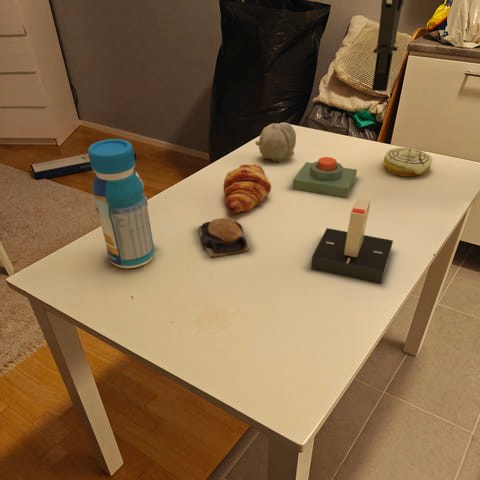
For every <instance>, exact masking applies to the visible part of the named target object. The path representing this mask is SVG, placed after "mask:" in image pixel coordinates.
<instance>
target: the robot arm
mask: <svg viewBox="0 0 480 480" xmlns="http://www.w3.org/2000/svg"><path fill="white" fill-rule="evenodd" d="M404 3H405V0H381V3H380V4H381V6H380V18H379V27H378V33H377V34H378V36H377V42H376V43H377V44H376V46H375V47H376V48H374V49H373V54H376V59H375V66H374V72H373V73H374V74H373V80H372V87H371V91H375V92H387V90H388V85H389V78H390V73H391V67H392V60H393V55H394V52H398V46H395V45H396V43H397V36H398V35H397V34H398V30H399V29H398V28H399V23H400V18H401V12H402V7H404Z"/></svg>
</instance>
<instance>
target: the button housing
mask: <svg viewBox="0 0 480 480" xmlns="http://www.w3.org/2000/svg"><path fill="white" fill-rule="evenodd" d="M317 166H318V160H317V161H314V162H308V161H305V163H304V164H303V165H302V167H301V168H300V170H298V173H296V175H295V177H294V178H293V179H292V189H293V190H299V191H304V192H310V193H317V194H322V195H329V196H335V197H341V198H347V197H348V194H349V193H350V191H351V189H352V187H353V185H354V183H355V181H356V178H357V172H358V169H356V168H348V167H344V166H343V165H342V164H341V163H340V162H336V169H335V170H333V171H323V170H319V169H318V168H317Z"/></svg>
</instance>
